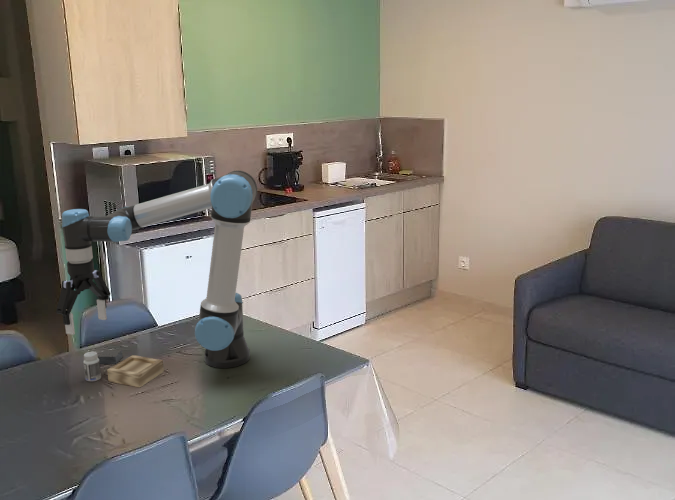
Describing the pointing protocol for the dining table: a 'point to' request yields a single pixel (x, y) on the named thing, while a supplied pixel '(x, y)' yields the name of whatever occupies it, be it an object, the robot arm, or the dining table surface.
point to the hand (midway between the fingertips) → (87, 326)
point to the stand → (135, 371)
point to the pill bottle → (91, 366)
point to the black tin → (110, 356)
